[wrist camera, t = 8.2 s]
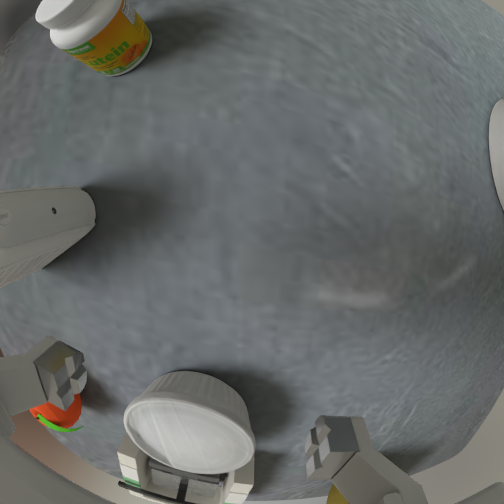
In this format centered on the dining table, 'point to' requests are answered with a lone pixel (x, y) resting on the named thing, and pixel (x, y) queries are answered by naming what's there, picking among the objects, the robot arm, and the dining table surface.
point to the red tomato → (59, 415)
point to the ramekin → (191, 423)
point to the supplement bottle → (97, 32)
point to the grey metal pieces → (178, 483)
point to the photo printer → (40, 227)
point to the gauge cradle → (140, 475)
